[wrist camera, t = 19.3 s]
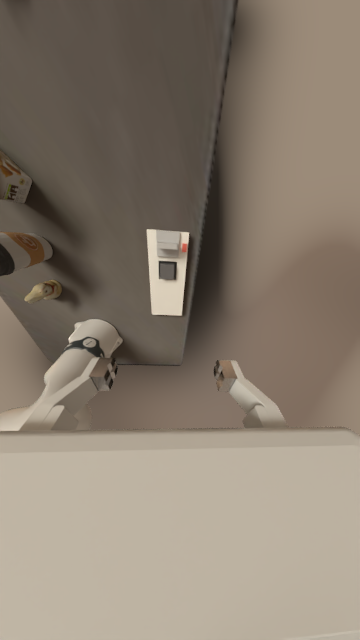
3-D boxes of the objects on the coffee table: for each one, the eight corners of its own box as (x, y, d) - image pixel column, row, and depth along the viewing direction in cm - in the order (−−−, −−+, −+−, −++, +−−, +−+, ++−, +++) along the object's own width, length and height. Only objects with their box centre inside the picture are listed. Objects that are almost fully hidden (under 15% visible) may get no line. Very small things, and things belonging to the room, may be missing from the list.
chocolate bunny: (69, 291, 46) (46, 305, 37) (52, 299, 47) (26, 314, 39) (55, 276, 42) (27, 288, 34) (37, 284, 44) (6, 298, 36)
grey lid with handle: (178, 257, 38) (178, 260, 34) (157, 255, 37) (155, 258, 34) (179, 232, 34) (180, 232, 31) (156, 230, 34) (154, 230, 31)
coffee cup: (63, 252, 39) (11, 263, 26) (47, 268, 41) (-7, 285, 29) (32, 221, 34) (-47, 218, 22) (16, 241, 37) (-63, 248, 24)
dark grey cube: (173, 275, 43) (173, 279, 40) (161, 274, 43) (160, 278, 40) (174, 262, 41) (174, 265, 38) (161, 261, 41) (160, 264, 37)
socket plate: (181, 312, 52) (181, 316, 49) (152, 311, 51) (151, 315, 48) (188, 232, 37) (189, 232, 34) (148, 229, 36) (146, 229, 33)
